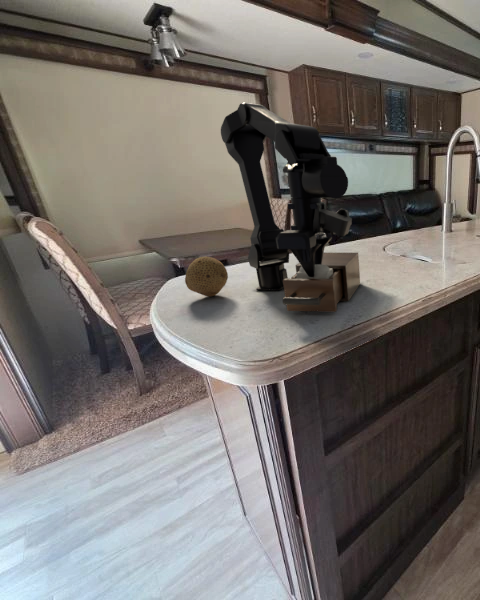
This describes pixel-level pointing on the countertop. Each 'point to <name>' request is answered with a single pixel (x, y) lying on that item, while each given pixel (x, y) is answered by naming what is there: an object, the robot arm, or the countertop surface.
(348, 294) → the cabinet
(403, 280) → the countertop surface
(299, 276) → the cream lumpy block
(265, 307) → the countertop surface
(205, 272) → the natural sponge
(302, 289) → the drawer
